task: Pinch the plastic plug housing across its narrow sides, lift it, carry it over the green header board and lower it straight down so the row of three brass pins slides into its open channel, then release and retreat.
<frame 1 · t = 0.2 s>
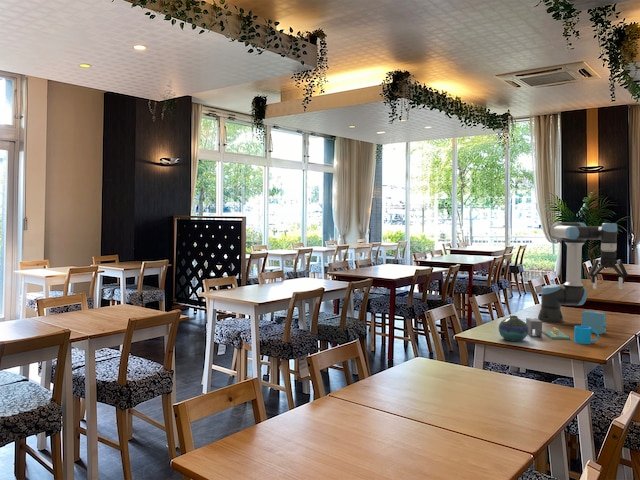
hand: (607, 289, 276), 28 cm above the table, fingers open, 13 cm apart
plug housing: (533, 335, 284), on the table
mug: (586, 343, 268), on the table
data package: (593, 332, 293), on the table
vase: (513, 340, 273), on the table
header board: (555, 335, 283), on the table
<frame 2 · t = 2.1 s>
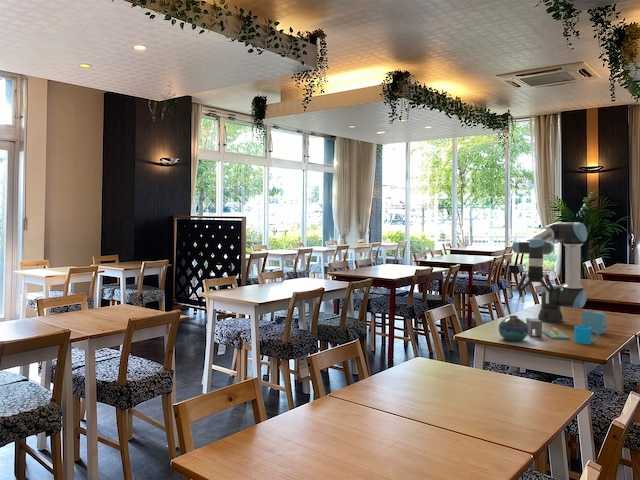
hand: (534, 302, 283), 19 cm above the table, fingers open, 13 cm apart
nothing on the table moved.
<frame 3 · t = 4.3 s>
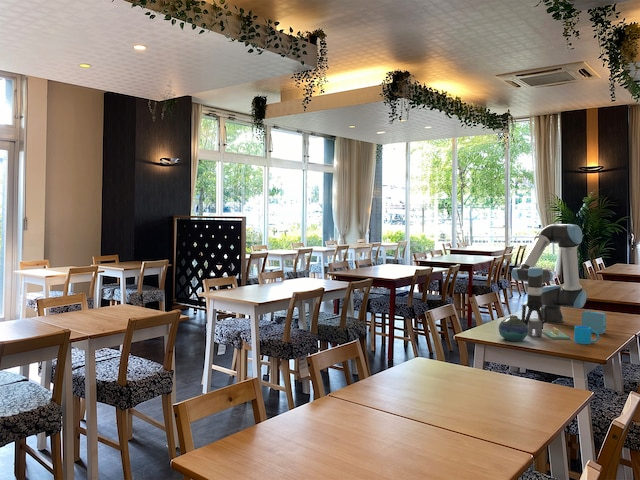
hand: (533, 334, 284), 0 cm above the table, fingers closed on plug housing, 6 cm apart
plug housing: (533, 335, 284), on the table, touching gripper
everything else where it was.
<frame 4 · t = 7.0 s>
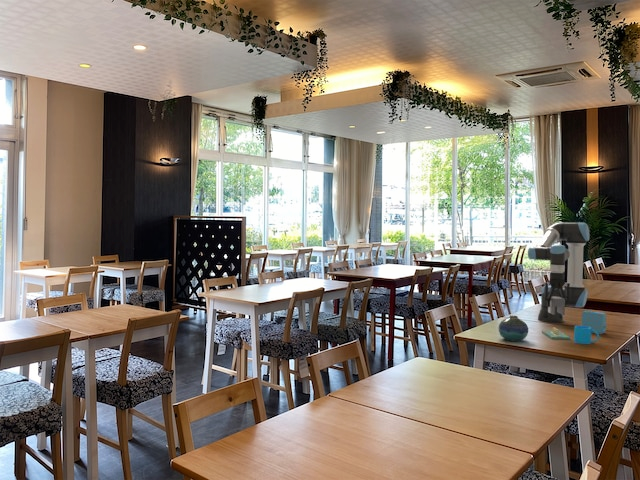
hand: (556, 312, 282), 13 cm above the table, fingers closed on plug housing, 6 cm apart
plug housing: (556, 313, 282), point 13 cm above the table, touching gripper
everything else where it was.
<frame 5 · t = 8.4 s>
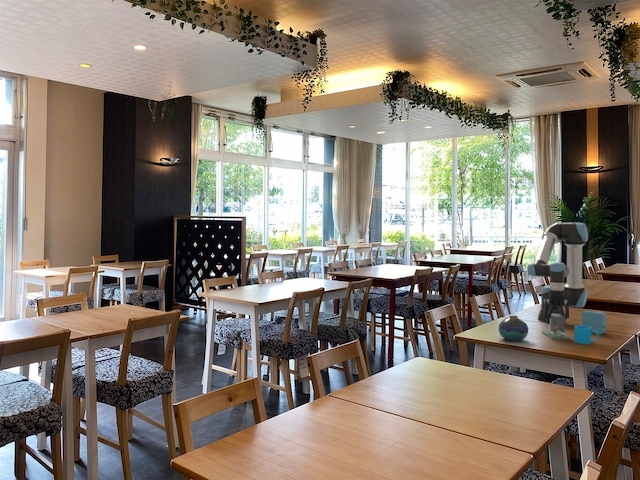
hand: (555, 330, 283), 3 cm above the table, fingers closed on plug housing, 6 cm apart
plug housing: (555, 330, 283), point 3 cm above the table, touching gripper
everything else where it was.
when the fingers open (3 cm above the table, at t = 9.6 s): plug housing stays where it is, resting on header board.
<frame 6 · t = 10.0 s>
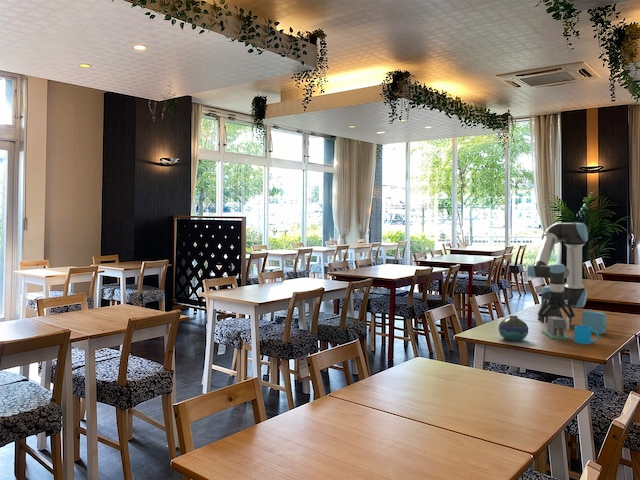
hand: (555, 328, 283), 4 cm above the table, fingers open, 12 cm apart
plug housing: (555, 333, 283), point 1 cm above the table, touching header board
everything else where it was.
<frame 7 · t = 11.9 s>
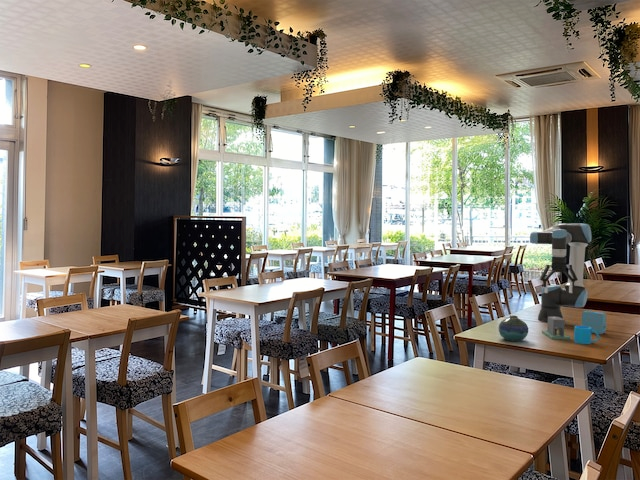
hand: (558, 292, 287), 24 cm above the table, fingers open, 13 cm apart
nothing on the table moved.
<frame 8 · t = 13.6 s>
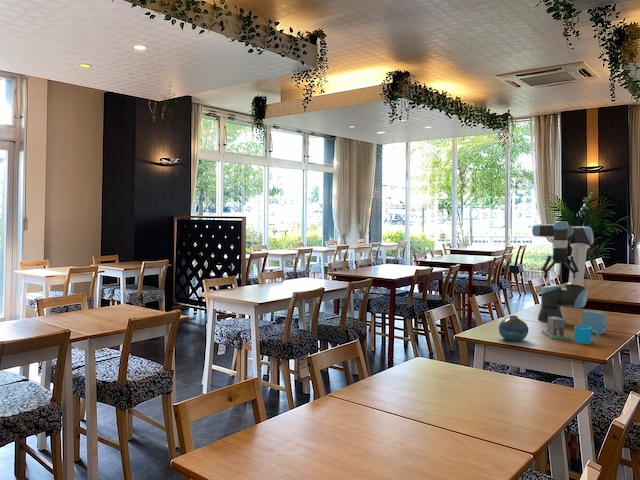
hand: (559, 283, 291), 29 cm above the table, fingers open, 13 cm apart
nothing on the table moved.
at the end: plug housing 0.0 cm off-centre on the header board, point 1.2 cm above the header board's base; plug housing tilted 0°; the gripper is holding nothing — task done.
